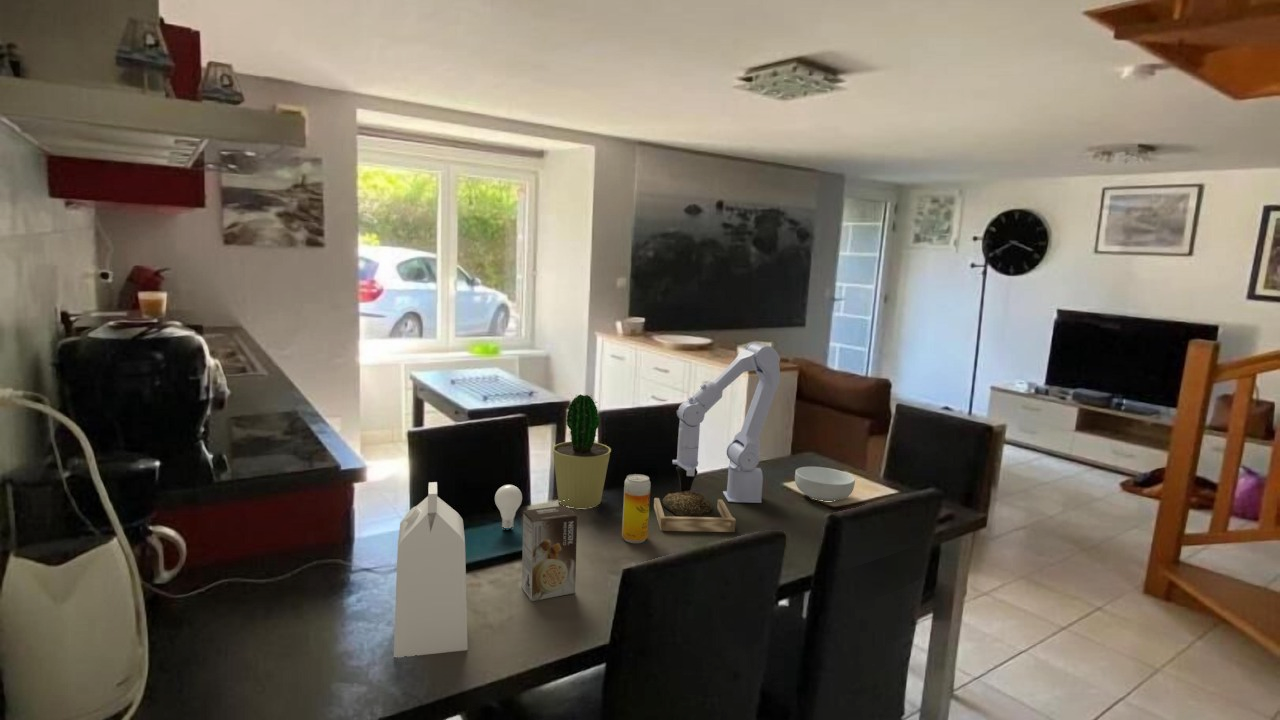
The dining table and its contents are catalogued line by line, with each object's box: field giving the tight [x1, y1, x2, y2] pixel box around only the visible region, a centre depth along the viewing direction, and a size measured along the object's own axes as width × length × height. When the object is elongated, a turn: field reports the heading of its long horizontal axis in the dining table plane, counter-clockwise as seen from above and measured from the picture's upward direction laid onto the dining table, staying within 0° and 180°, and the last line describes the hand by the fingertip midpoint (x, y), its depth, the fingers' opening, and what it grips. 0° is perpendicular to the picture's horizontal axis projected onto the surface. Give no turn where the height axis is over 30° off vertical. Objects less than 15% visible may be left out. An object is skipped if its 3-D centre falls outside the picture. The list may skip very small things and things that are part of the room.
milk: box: [393, 481, 469, 659], centre depth 116 cm, size 12×12×26 cm
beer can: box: [621, 473, 652, 544], centre depth 161 cm, size 6×6×15 cm
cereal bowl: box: [794, 466, 856, 501], centre depth 198 cm, size 17×17×7 cm
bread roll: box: [662, 490, 712, 517], centre depth 185 cm, size 13×12×5 cm
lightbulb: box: [494, 484, 523, 528], centre depth 163 cm, size 6×6×11 cm
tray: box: [653, 497, 737, 533], centre depth 177 cm, size 18×16×3 cm
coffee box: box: [521, 505, 578, 602], centre depth 134 cm, size 9×6×16 cm
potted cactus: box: [552, 394, 612, 508], centre depth 183 cm, size 15×15×30 cm
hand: (685, 493), depth 190 cm, fingers closed
